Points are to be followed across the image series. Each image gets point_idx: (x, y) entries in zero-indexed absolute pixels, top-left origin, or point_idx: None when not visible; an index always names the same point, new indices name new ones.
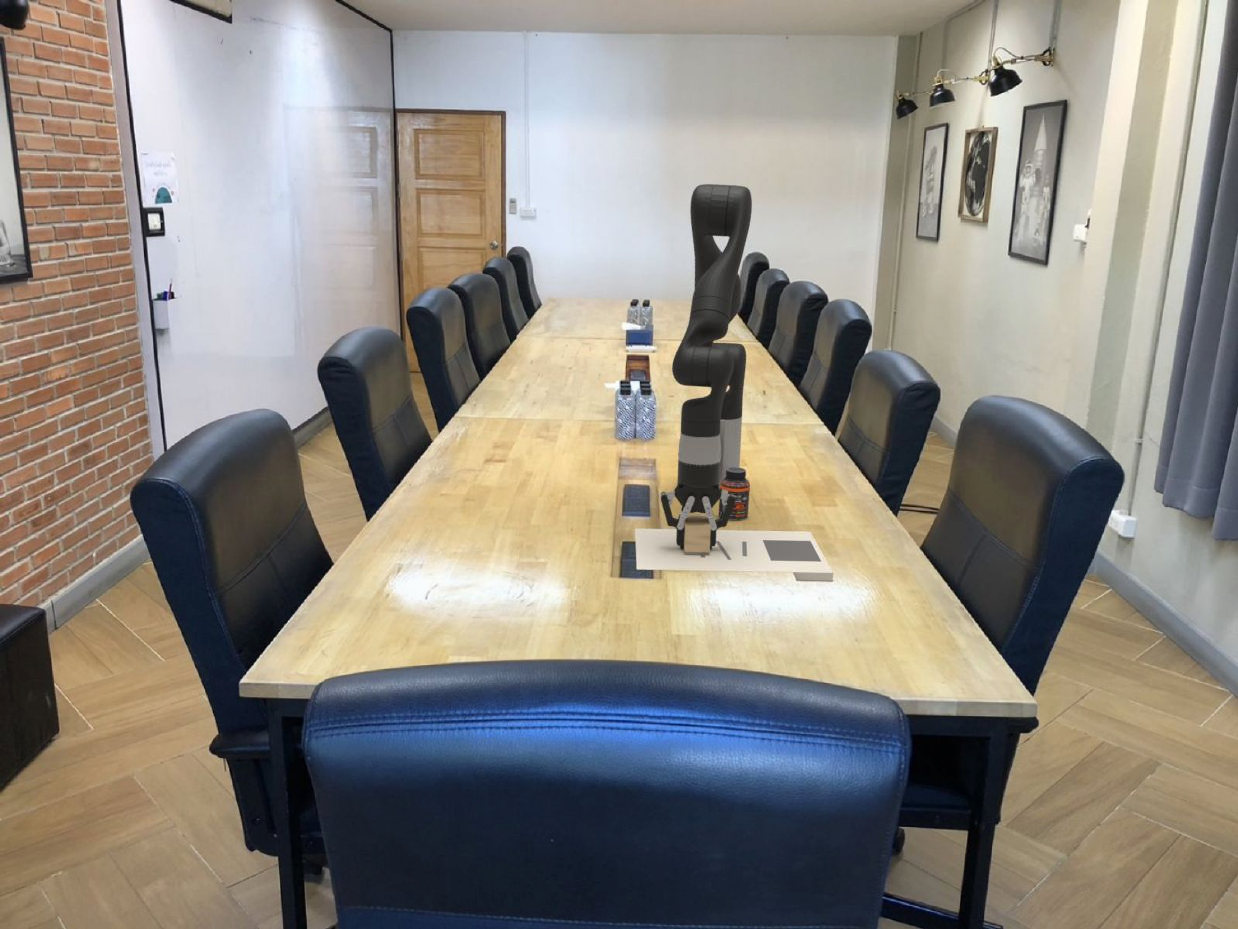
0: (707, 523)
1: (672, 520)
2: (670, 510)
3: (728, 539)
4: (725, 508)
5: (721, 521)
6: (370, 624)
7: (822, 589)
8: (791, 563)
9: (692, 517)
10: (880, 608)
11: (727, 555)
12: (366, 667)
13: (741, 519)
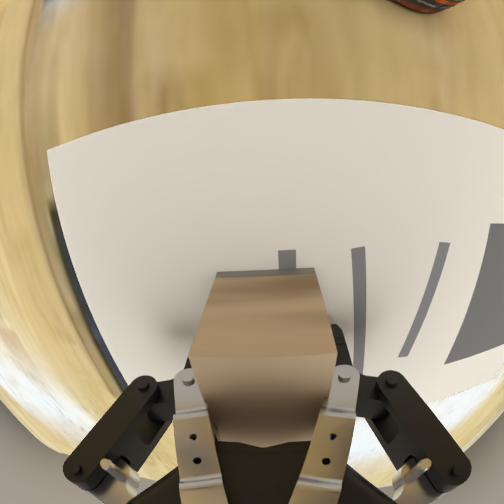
0: (309, 434)
1: (164, 426)
2: (145, 458)
3: (402, 224)
4: (396, 466)
5: (370, 424)
6: (27, 418)
7: (458, 397)
8: (468, 365)
9: (245, 394)
10: (475, 413)
11: (359, 362)
12: (68, 454)
13: (447, 7)
